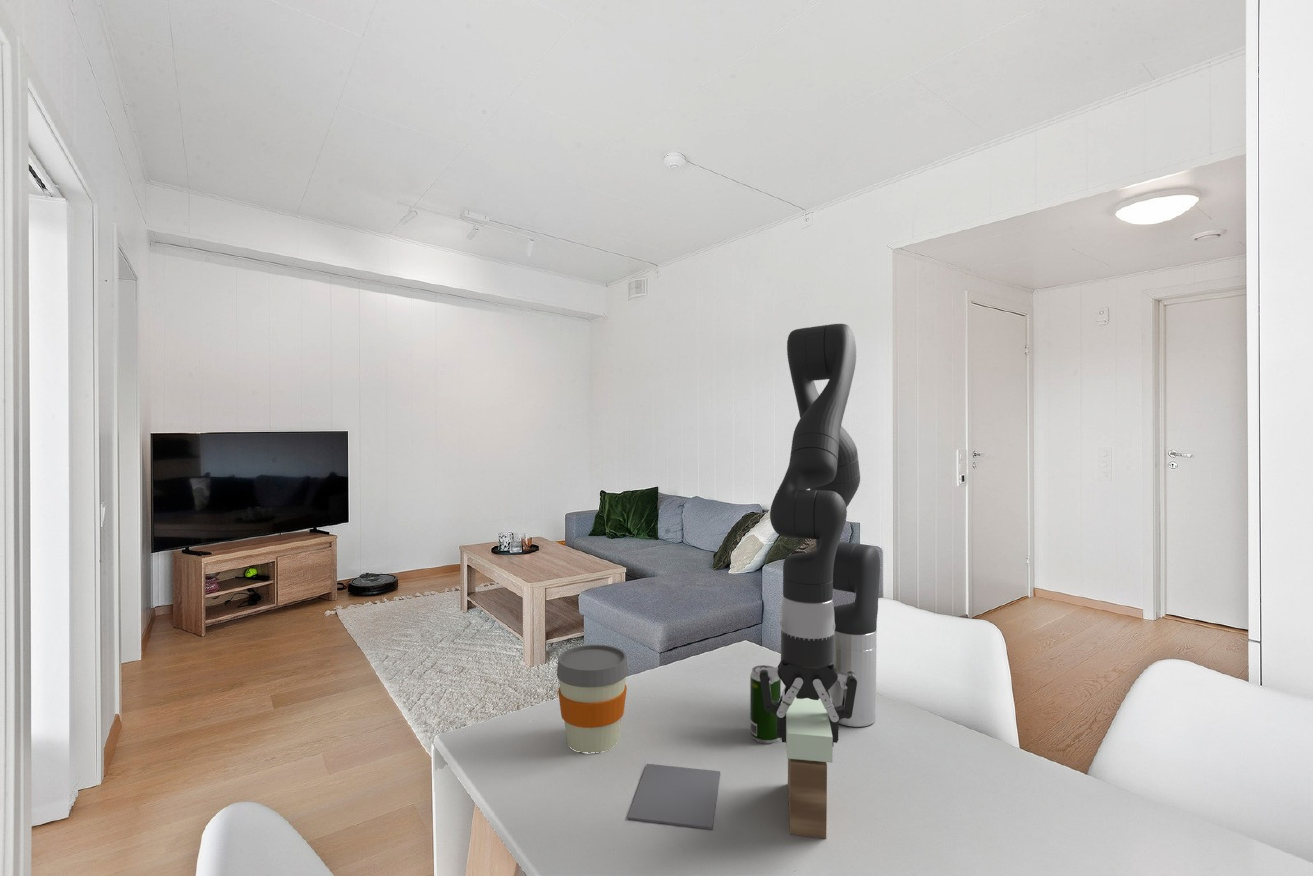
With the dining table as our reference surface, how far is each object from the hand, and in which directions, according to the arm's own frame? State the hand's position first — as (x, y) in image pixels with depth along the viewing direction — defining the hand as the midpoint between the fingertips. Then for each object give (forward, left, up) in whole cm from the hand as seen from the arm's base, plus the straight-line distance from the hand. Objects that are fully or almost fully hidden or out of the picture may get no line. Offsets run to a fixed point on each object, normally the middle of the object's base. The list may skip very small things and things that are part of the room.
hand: (806, 741), depth 90 cm
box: (0, 0, -10) cm, 10 cm away
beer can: (-20, -6, -10) cm, 23 cm away
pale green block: (0, 0, +1) cm, 1 cm away
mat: (0, -19, -10) cm, 22 cm away
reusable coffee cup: (-13, -36, -10) cm, 40 cm away
